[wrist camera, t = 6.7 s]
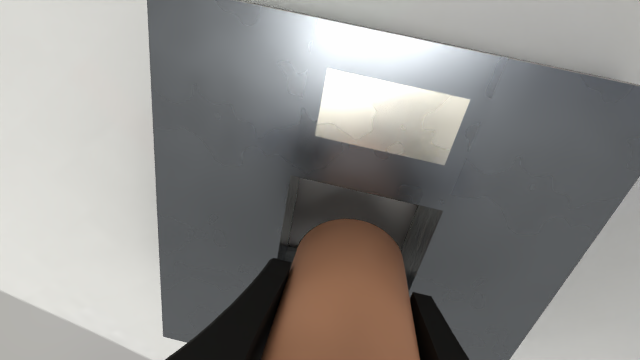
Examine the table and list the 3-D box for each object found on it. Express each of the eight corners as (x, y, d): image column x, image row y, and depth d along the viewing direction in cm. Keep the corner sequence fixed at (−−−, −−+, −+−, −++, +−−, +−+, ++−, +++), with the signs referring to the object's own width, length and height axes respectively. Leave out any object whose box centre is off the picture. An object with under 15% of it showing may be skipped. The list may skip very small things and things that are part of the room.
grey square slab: (620, 81, 12) (697, 98, 9) (455, 359, 19) (470, 417, 16) (194, -10, 12) (143, -19, 10) (191, 293, 20) (162, 338, 17)
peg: (419, 235, 11) (470, 423, 6) (385, 318, 13) (399, 526, 7) (306, 206, 11) (250, 362, 6) (287, 292, 13) (229, 477, 7)
